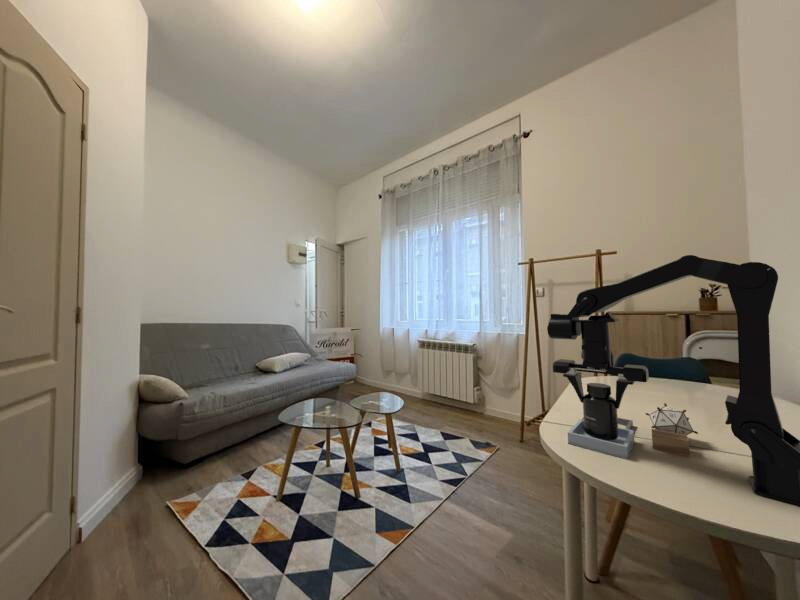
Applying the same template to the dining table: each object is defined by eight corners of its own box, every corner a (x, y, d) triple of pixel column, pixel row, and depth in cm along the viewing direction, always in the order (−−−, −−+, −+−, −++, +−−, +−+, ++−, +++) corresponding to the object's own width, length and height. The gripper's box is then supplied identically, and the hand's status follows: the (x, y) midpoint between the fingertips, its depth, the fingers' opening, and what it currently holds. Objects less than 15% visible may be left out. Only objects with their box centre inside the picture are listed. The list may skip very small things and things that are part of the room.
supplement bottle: (582, 436, 69) (579, 385, 70) (586, 427, 74) (583, 380, 75) (618, 444, 65) (614, 389, 65) (619, 433, 70) (616, 383, 71)
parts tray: (627, 459, 62) (627, 446, 62) (568, 443, 70) (567, 432, 70) (634, 441, 70) (633, 430, 70) (580, 429, 78) (579, 419, 78)
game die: (668, 456, 69) (642, 424, 69) (656, 431, 76) (632, 402, 77) (714, 447, 64) (686, 412, 65) (697, 421, 72) (672, 389, 72)
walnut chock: (690, 457, 62) (688, 441, 62) (653, 449, 66) (652, 434, 66) (687, 450, 65) (686, 434, 65) (652, 443, 69) (651, 428, 69)
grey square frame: (627, 438, 71) (627, 432, 72) (579, 427, 79) (579, 421, 79) (632, 426, 79) (632, 420, 79) (588, 417, 86) (588, 412, 86)
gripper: (648, 339, 70) (653, 404, 69) (563, 337, 83) (566, 391, 82) (643, 343, 62) (648, 417, 61) (550, 340, 75) (553, 400, 74)
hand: (599, 405), depth 70 cm, fingers closed on supplement bottle, 7 cm apart
